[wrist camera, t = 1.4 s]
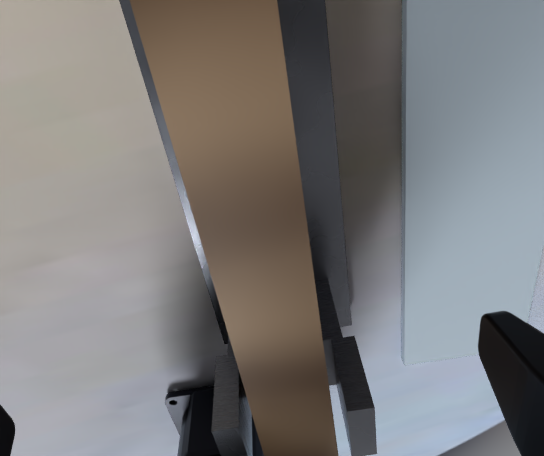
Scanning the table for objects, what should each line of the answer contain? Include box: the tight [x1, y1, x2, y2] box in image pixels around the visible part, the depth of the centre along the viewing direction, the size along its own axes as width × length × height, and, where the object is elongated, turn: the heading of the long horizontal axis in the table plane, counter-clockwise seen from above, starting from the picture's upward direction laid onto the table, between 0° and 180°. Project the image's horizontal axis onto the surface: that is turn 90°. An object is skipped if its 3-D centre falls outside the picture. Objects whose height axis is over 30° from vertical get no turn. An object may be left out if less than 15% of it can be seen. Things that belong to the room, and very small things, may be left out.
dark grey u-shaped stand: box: [119, 0, 377, 456], centre depth 16 cm, size 23×7×8 cm, turn 9°
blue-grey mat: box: [401, 0, 544, 366], centre depth 20 cm, size 26×7×1 cm, turn 9°
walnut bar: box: [130, 0, 338, 456], centre depth 14 cm, size 24×3×3 cm, turn 9°
